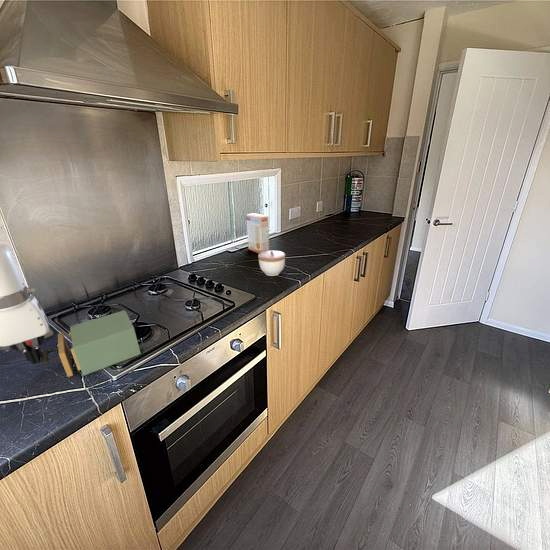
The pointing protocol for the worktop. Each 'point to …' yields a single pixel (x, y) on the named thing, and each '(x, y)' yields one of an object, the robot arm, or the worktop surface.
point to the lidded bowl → (272, 262)
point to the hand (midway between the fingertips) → (36, 360)
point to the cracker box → (257, 232)
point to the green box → (104, 342)
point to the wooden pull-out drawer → (62, 355)
